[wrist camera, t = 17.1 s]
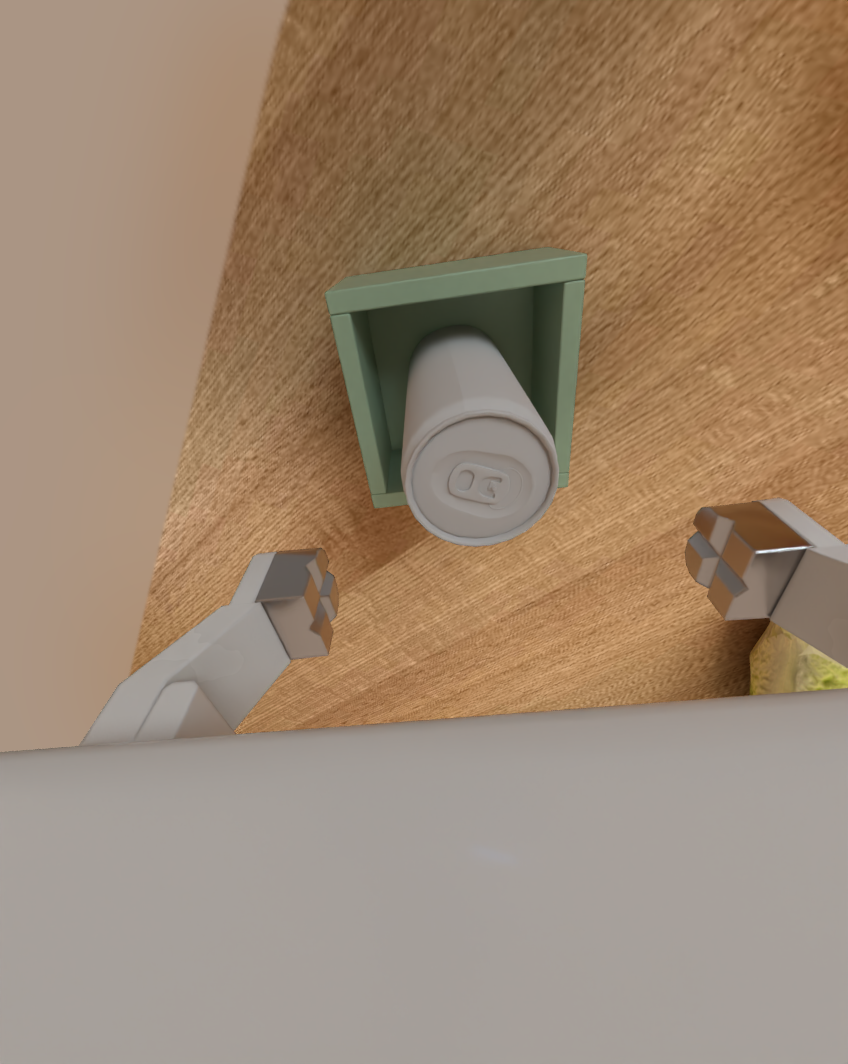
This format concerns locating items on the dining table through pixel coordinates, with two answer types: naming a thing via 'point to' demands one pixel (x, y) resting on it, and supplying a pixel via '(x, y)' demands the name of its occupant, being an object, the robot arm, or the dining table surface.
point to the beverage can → (473, 442)
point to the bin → (446, 300)
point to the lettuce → (791, 665)
